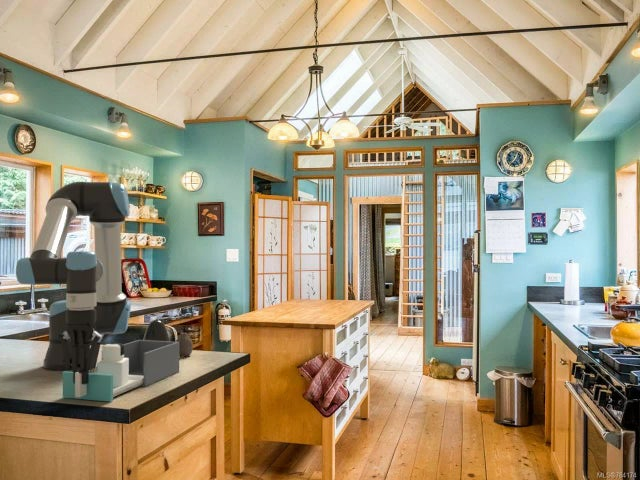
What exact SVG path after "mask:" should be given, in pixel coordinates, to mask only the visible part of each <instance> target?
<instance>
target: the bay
mask: <svg viewBox="0 0 640 480" xmlns="http://www.w3.org/2000/svg"><path fill="white" fill-rule="evenodd" d="M122 344H123V343H122ZM123 345H124V357H123V358H129V375H139V376H144V381H143V384H142V385H140V386H139V387H144V388H146V387H149V386H150V385H153V384H154V383H157V382H159V381H162V380H165V379H167V378H169V377H171V376H173V375H175V374H176V375H177V374H178V373H180V357H179V342H176V341H170V342H168V341H150V340H143V339H138V340H137V339H136V340H134V341H131V342H128V343H124V344H123ZM102 360H103V358H102V357H101V361H102Z"/></svg>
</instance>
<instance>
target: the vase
mask: <svg viewBox="0 0 640 480" xmlns="http://www.w3.org/2000/svg"><path fill="white" fill-rule="evenodd" d="M175 342H179V358H187V357H189V356H190V355H192V353H193V351H194V343H193V340H192V338H191V337H190V336H189V335H188V333H187V332H180V334H179V336H178V338H177V339H176V340H175Z"/></svg>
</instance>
